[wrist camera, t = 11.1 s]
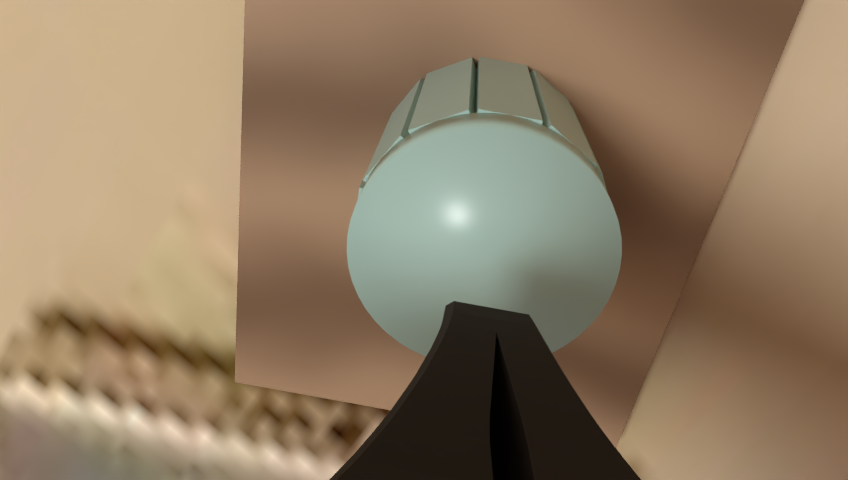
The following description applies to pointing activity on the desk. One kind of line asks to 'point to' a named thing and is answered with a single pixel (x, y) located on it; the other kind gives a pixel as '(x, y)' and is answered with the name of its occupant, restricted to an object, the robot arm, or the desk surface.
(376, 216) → the cap
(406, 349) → the walnut board
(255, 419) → the desk surface
